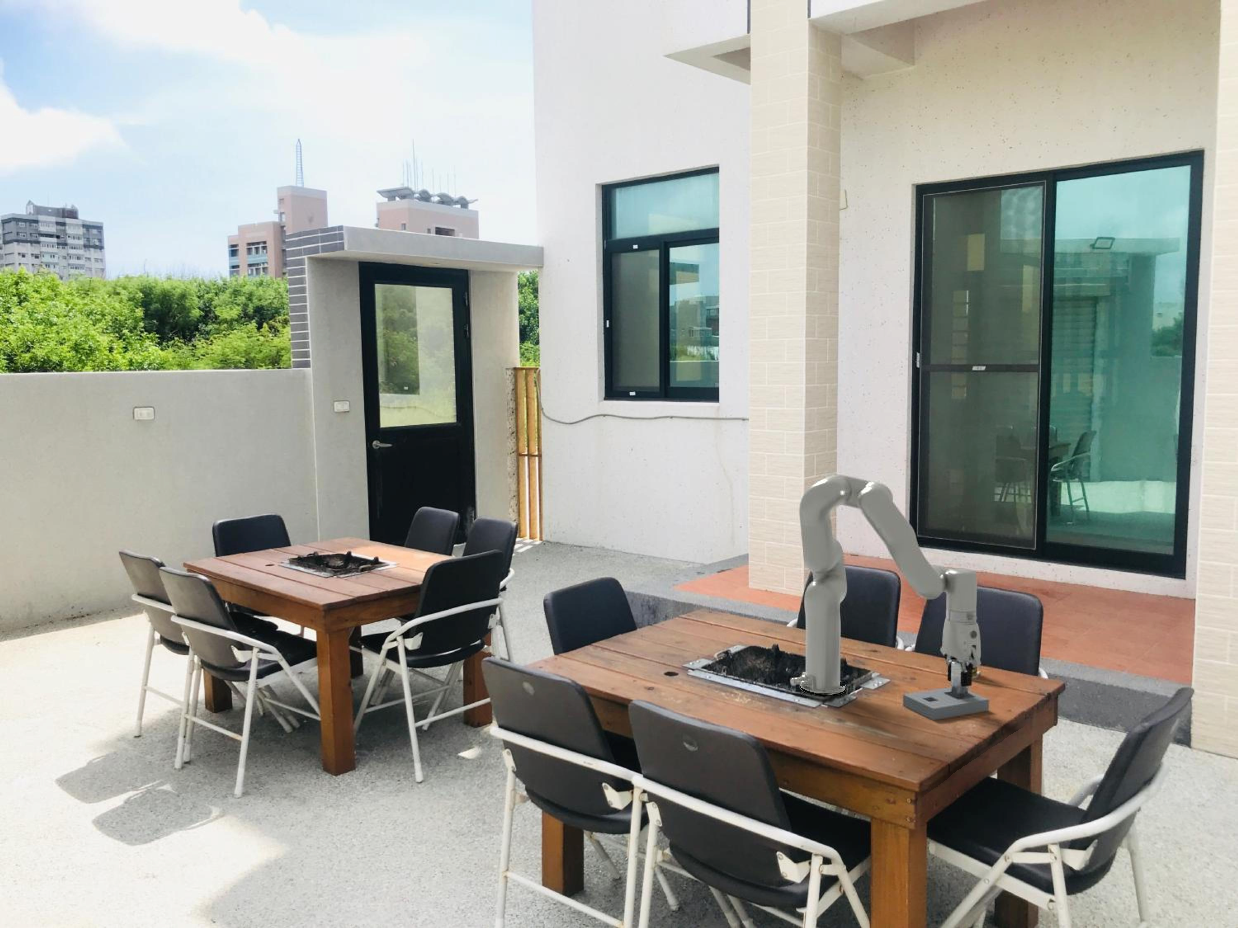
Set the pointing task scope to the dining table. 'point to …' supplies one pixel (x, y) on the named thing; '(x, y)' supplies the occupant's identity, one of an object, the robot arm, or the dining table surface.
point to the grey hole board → (945, 703)
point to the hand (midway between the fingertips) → (959, 682)
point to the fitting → (957, 677)
